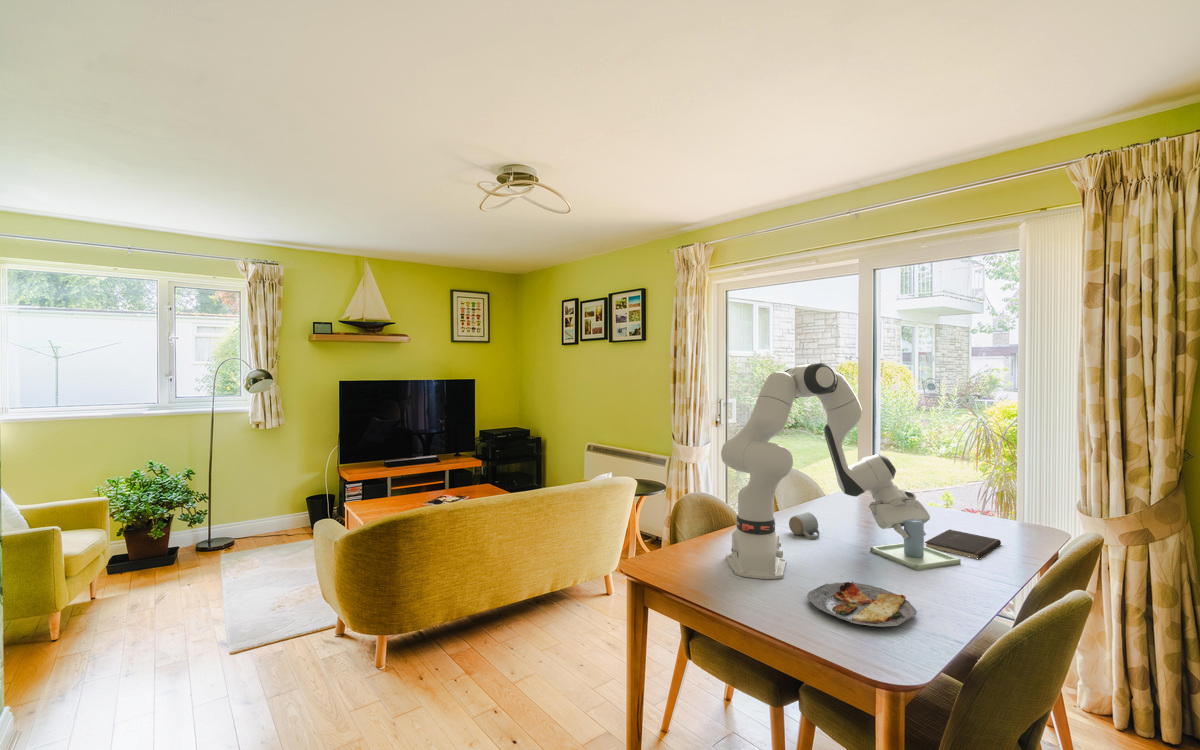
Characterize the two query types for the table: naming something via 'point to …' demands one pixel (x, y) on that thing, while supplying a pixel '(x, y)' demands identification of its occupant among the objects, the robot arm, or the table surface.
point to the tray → (916, 563)
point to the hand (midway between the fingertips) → (915, 536)
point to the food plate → (863, 604)
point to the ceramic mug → (804, 525)
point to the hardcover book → (963, 543)
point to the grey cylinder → (914, 538)
